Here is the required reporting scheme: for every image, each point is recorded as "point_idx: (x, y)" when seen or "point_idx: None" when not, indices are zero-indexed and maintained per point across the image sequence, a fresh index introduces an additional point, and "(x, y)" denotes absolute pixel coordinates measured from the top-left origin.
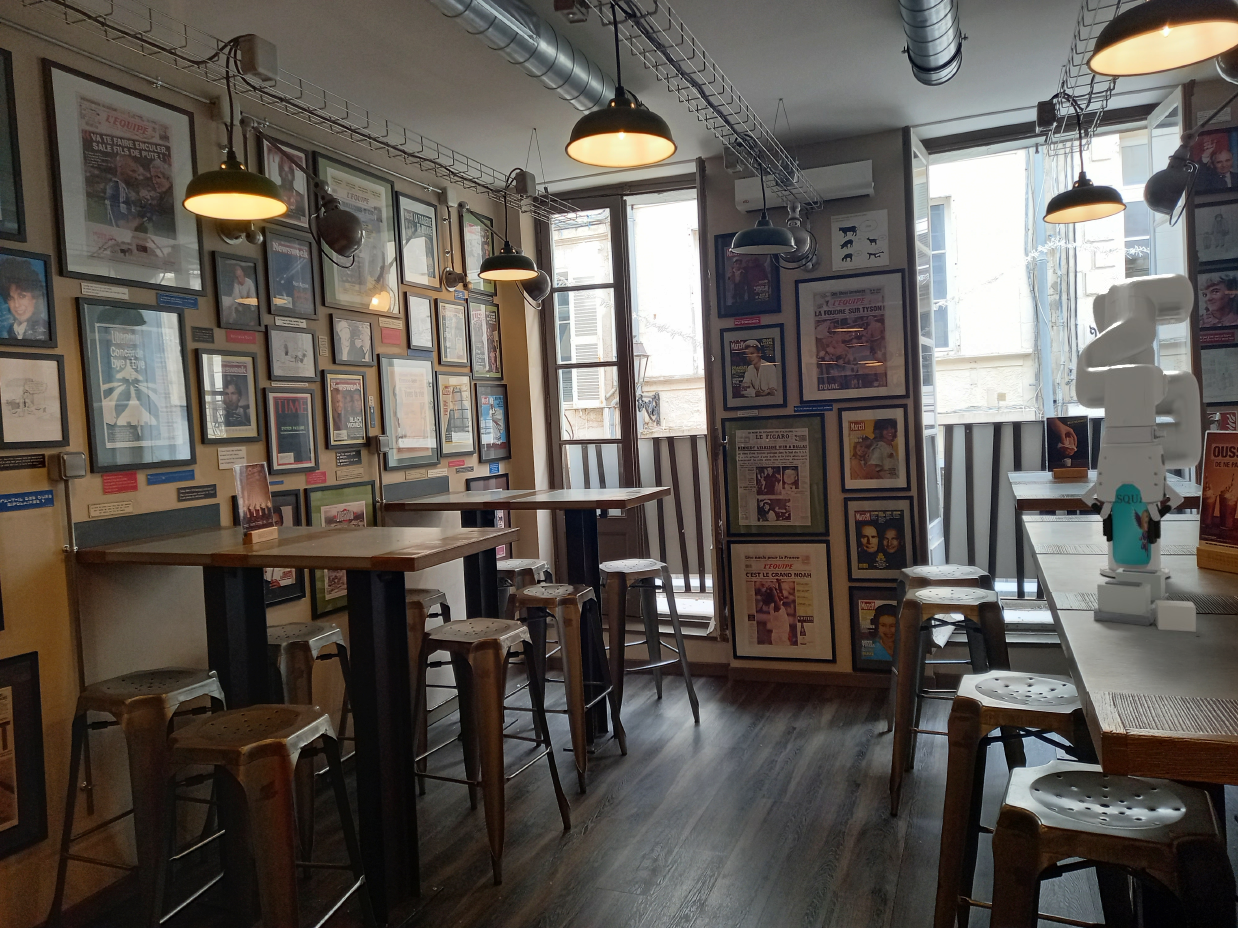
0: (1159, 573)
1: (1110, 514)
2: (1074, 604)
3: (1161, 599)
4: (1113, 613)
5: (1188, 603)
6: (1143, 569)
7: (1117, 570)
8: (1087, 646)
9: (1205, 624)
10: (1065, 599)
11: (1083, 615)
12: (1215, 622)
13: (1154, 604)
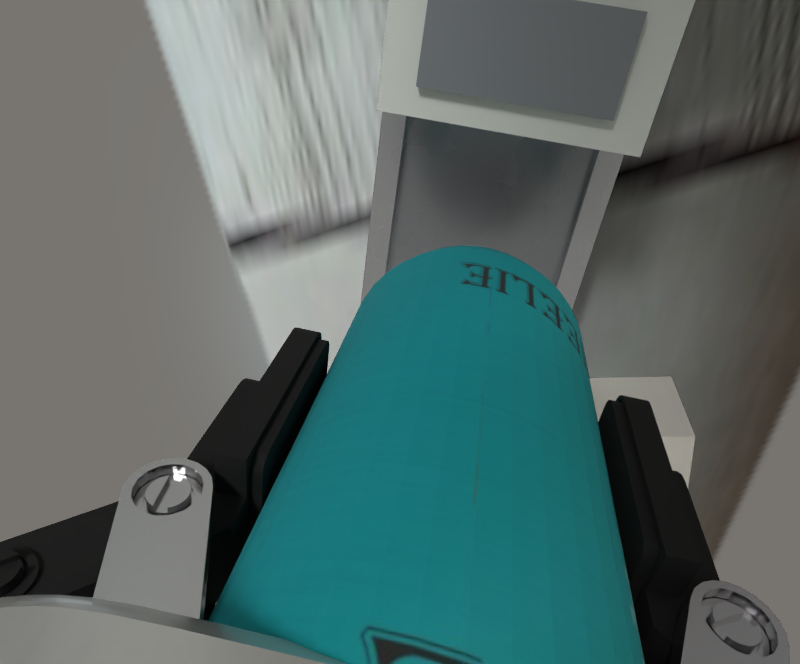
0: (644, 89)
1: (222, 573)
2: (246, 131)
3: (612, 166)
4: None
5: (673, 465)
6: (550, 19)
7: (385, 46)
8: None
9: (727, 351)
10: (182, 19)
11: (318, 324)
12: (779, 310)
13: (564, 292)
